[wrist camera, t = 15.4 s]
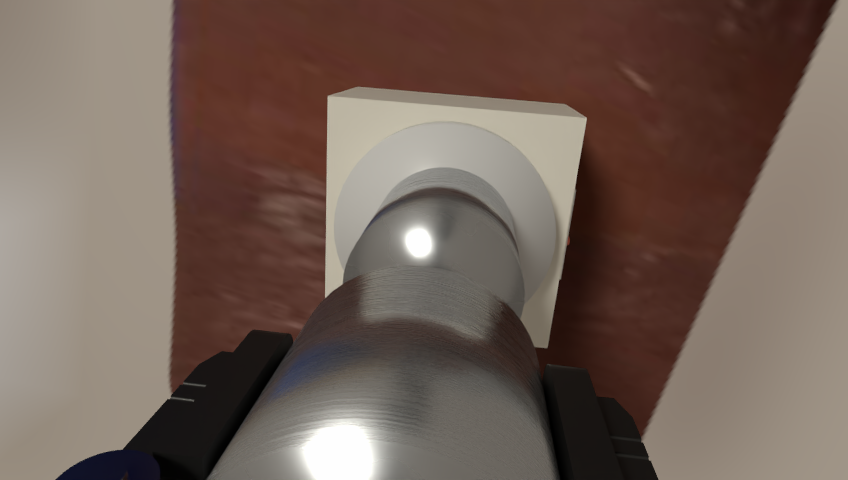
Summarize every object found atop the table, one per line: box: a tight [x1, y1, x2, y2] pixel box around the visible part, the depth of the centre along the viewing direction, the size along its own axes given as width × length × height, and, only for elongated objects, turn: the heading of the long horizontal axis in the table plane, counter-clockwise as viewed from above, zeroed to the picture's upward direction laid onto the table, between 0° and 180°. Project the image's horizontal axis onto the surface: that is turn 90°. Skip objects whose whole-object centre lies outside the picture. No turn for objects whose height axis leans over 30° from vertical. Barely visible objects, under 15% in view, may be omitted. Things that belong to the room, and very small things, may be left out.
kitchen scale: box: [325, 87, 587, 348], centre depth 22 cm, size 9×9×6 cm
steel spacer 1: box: [343, 167, 525, 319], centre depth 17 cm, size 5×5×5 cm
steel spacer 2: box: [206, 265, 561, 480], centre depth 9 cm, size 5×5×5 cm
